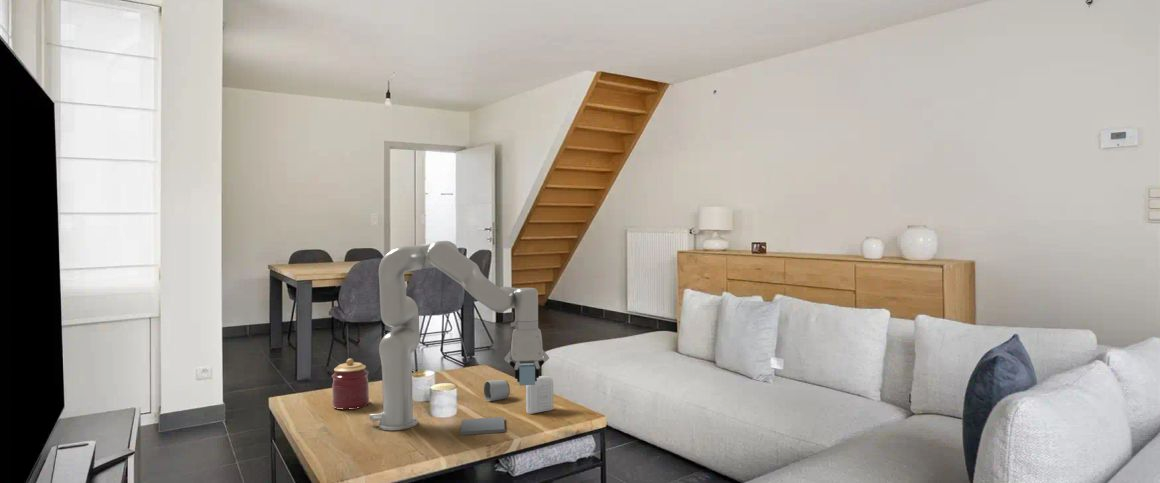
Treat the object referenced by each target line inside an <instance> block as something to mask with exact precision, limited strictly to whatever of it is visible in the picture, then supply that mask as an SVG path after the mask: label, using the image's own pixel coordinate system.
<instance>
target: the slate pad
mask: <svg viewBox="0 0 1160 483" xmlns="http://www.w3.org/2000/svg"><path fill="white" fill-rule="evenodd" d="M505 428H506V427H505V417H504V416H495V417H481V418H466V419H464V418H463V419H461V424H460V432H459V433H460V434H459V435H460V436H465V435H477V434H478V435H481V434H493V433H494V434H496V433H497V434H498V433H505V432H506V429H505Z"/></svg>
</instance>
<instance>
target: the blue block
mask: <svg viewBox="0 0 1160 483" xmlns="http://www.w3.org/2000/svg"><path fill="white" fill-rule="evenodd" d="M519 375H520V382H518V384H519V386H526V385H535V363H534V362H533V363H532V362H531V363H520V364H519Z"/></svg>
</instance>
